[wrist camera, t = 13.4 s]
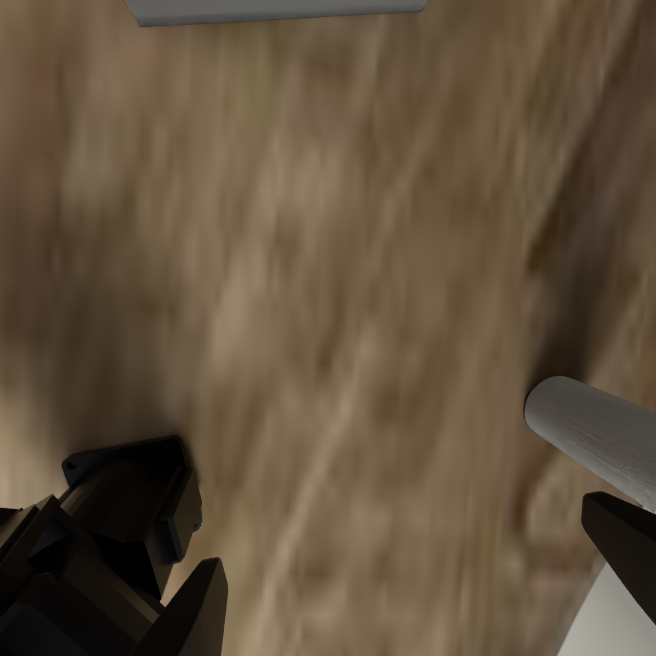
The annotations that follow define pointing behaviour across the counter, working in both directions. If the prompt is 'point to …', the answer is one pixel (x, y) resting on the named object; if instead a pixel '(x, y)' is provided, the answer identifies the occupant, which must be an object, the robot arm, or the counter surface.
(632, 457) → the planter
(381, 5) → the tray
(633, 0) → the counter surface
